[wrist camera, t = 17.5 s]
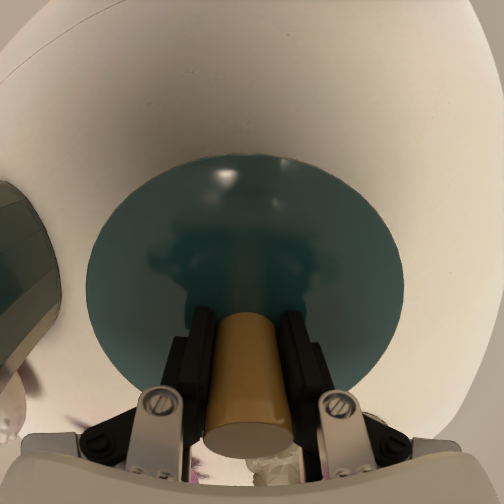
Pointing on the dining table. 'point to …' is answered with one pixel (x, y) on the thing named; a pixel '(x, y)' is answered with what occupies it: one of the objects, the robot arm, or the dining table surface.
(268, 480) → the ceramic cottage
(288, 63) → the dining table surface
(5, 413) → the decorative ball
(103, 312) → the lid
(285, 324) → the robot arm
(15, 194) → the tin
